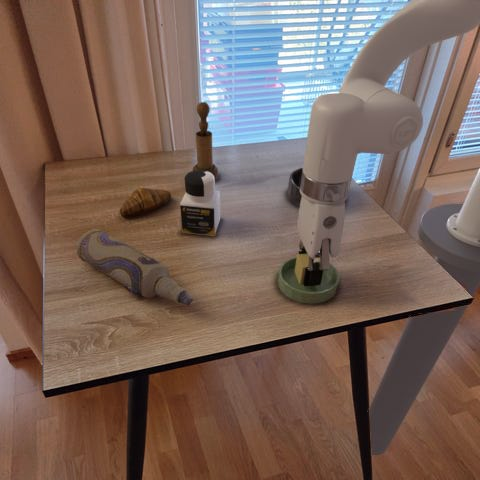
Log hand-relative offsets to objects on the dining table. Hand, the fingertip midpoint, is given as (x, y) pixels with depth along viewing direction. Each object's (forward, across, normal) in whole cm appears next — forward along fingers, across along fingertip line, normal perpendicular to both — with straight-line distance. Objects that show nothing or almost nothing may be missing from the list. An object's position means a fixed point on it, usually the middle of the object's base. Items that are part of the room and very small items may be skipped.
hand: (308, 275), depth 77 cm
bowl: (+2, +32, -11) cm, 34 cm away
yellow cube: (0, 0, 0) cm, 0 cm away
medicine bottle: (+2, +22, +18) cm, 28 cm away
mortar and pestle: (+2, +45, +15) cm, 47 cm away
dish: (+2, 0, 0) cm, 2 cm away
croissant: (+2, +31, +30) cm, 43 cm away
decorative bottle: (+2, +4, +32) cm, 33 cm away
